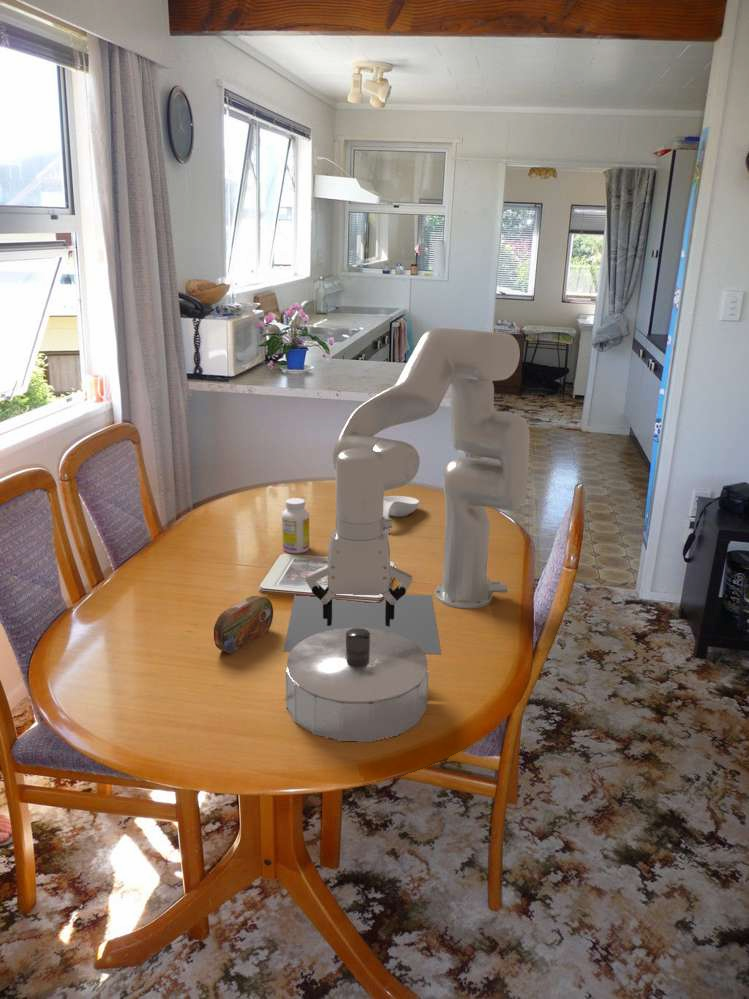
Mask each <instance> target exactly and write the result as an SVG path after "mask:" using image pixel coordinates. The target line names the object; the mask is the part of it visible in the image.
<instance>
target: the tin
mask: <svg viewBox="0 0 749 999" xmlns="http://www.w3.org/2000/svg"><path fill="white" fill-rule="evenodd" d="M273 617H274V606H273V603H272V601H271V600H270V599H269V598H267V597H266V596H260V595H259V596H258V595H250V596H249V597H246V598H245V599H243V600H241V601H240V602H238V603H236V604H235V605H233V606H231V607H230V608H227V609H226V610H224V611H222V613H221V614H220V615H218V617H217V620H216V621H215V623H214V625H213V626H214V627H213V642H214V645H215V647H216V648H217V649H218V650H220V651H222V652H225V653H227V654H228V655H229V654H230V655H233V654H235V652H236V651H238V650H239V649H241V648H243V647H245V646H246V645H248V644H250V643H252V642H253V641H255V640H257V639H258V638H260V637H261V636H263V635H265V634H267V633H268V632H269V630H270V627H271V626H272V623H273V619H274V618H273Z"/></svg>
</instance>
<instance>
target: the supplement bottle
mask: <svg viewBox="0 0 749 999" xmlns="http://www.w3.org/2000/svg"><path fill="white" fill-rule="evenodd" d="M285 506H286V509H284V510H283V511H282V513H281V528H282V549H283V551H284V552H286V553H288V554H294V555H295V554H303V553H306V552H308V551H309V549H310V513H309V511H308V510H307V509H306V508H305V506H306V501H305V499H303V498H299V497H292V498H288V499H286V500H285Z"/></svg>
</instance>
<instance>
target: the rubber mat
mask: <svg viewBox="0 0 749 999" xmlns="http://www.w3.org/2000/svg"><path fill="white" fill-rule="evenodd" d="M385 605H386V599H384V600H383V601H382V602H380V603H364V602H356V601H347V600H336V599H332V625H330V626H327V619H323V604H322V603H321V600H320V599H319V598H317V597H310V596H296V595H295V594H294V597H293V601H292V607H291V612H290V617H289V621H288V622H289V623H288V627H287V632H286V635H285V641H284V648H283V653H286V652H287V653H290V652H291V650H292V649H293V648H294V647H295V646H296V645H297V644H298V643H300V642H301V641H303V640H304V639H306V638H308V637H310V636H313V635H315V634H318V633H321V632H325V631H329V630H334V629H341V628H371V629H378V630H384V631H388V632H392V633H395V634H398V635H400V636H402V637H405V638H407V639H409V640H410V641H412V642H413V643H415V644H416V645H417V646H418V647H420V648H421V650H422V651H423V652H424V654H425V655H442V649H441V645H440V643H441V642H440V638H439V633H438V627H437V619H436V615H435V614H436V613H435V608H434V601H433V597H432V595H431V594H404V595H403V596H402V597H401V598H400V599H399V600H397V602H396V604H394V619H390V627H387V626H386V624H385Z"/></svg>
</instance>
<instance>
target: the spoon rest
mask: <svg viewBox="0 0 749 999" xmlns="http://www.w3.org/2000/svg"><path fill="white" fill-rule="evenodd" d="M419 505H420V500H419V499H418V498H415V497H411V496H405V495H404V496H403V495H389V496H388V495H387V496H384V499H383V517H385V519H387V520H390V516H391V517H398V518H400V517H401V518H402V517H407V516H408V515H410V514H411V513H412V514H413V512H415V511H416V510H417V509H418V507H419ZM390 529H391V528H387V529H385V531H386V532H387V535H388V534H389V535H390V533H391V530H390Z"/></svg>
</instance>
